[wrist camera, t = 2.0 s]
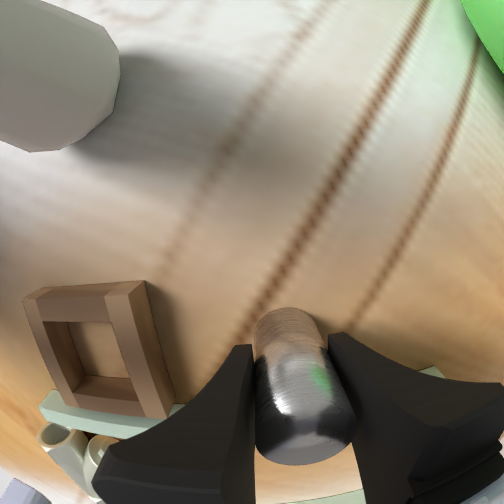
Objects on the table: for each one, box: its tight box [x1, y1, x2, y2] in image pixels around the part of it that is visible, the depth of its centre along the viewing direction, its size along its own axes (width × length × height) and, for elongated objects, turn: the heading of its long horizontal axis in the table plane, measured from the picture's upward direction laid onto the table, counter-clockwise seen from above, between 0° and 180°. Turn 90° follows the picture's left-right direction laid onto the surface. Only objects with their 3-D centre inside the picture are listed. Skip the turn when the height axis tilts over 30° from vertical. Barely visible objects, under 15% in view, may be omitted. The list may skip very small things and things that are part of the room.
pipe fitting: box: [36, 421, 120, 504], centre depth 13 cm, size 8×4×7 cm
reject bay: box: [38, 366, 446, 504], centre depth 13 cm, size 14×24×2 cm, turn 96°
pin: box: [254, 308, 358, 465], centre depth 9 cm, size 3×3×6 cm
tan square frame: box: [22, 280, 176, 419], centre depth 11 cm, size 6×6×2 cm
